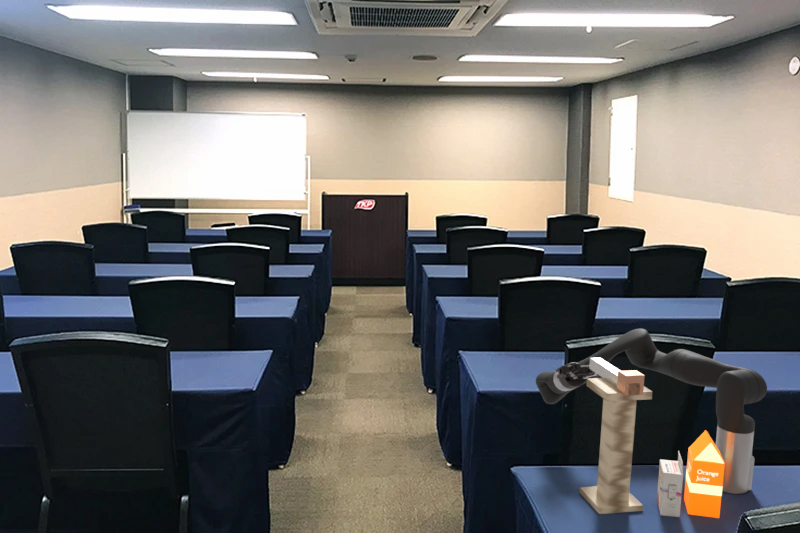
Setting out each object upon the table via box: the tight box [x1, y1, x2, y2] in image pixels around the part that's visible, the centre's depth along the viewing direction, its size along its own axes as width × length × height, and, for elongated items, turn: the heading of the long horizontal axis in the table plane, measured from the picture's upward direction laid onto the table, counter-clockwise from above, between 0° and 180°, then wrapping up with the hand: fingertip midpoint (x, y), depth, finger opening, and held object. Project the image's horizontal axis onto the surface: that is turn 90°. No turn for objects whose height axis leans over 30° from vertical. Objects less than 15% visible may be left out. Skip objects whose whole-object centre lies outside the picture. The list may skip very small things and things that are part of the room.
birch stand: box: [578, 377, 653, 515], centre depth 197 cm, size 12×12×32 cm
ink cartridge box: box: [656, 450, 684, 518], centre depth 195 cm, size 9×5×15 cm, turn 168°
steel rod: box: [589, 357, 645, 396], centre depth 197 cm, size 5×22×5 cm, turn 11°
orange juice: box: [683, 429, 725, 519], centre depth 195 cm, size 8×9×20 cm
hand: (591, 365), depth 219 cm, fingers open, 8 cm apart
